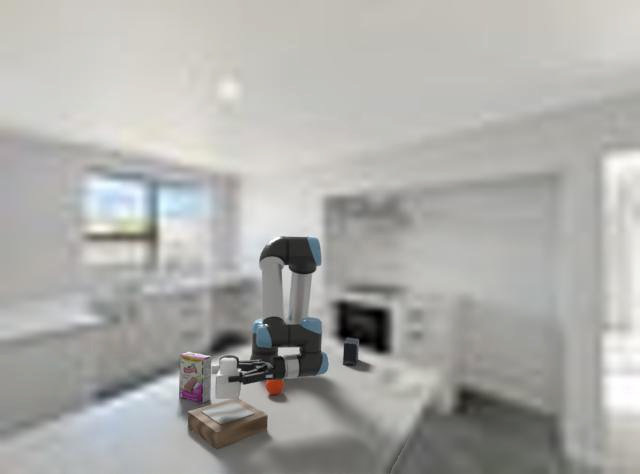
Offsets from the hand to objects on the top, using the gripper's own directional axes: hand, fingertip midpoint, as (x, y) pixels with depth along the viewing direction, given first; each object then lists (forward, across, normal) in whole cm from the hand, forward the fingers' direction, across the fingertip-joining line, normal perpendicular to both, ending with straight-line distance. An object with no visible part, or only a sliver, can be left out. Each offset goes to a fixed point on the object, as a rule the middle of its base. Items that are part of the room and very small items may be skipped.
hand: (214, 374), depth 136 cm
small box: (-73, +48, -18) cm, 90 cm away
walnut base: (-4, 0, -18) cm, 18 cm away
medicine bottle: (-5, 0, -7) cm, 8 cm away
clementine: (-27, +22, -18) cm, 40 cm away
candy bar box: (+2, +27, -18) cm, 33 cm away
